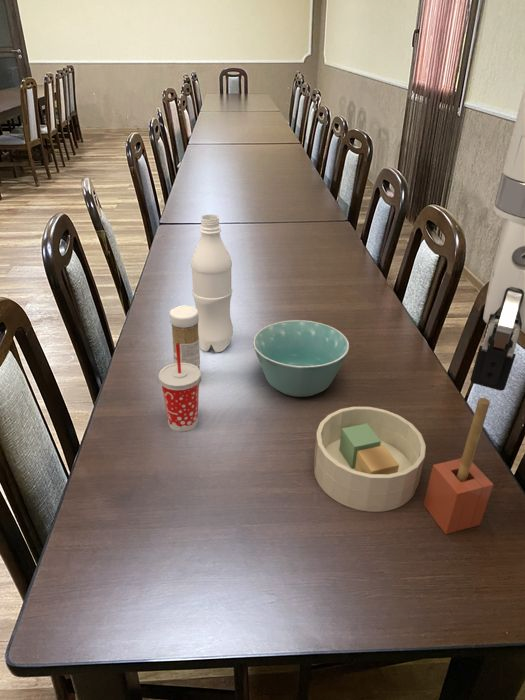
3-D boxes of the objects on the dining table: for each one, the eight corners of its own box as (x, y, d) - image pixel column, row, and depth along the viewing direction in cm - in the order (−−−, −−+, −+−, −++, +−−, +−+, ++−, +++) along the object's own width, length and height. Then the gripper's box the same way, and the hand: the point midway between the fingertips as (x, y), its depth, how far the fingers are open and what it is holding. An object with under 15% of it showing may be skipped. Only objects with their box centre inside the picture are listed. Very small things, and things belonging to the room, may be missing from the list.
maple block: (380, 467, 74) (384, 444, 72) (394, 487, 71) (399, 465, 69) (353, 472, 73) (357, 450, 71) (367, 494, 70) (371, 471, 68)
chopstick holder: (455, 496, 71) (467, 456, 67) (480, 525, 67) (493, 484, 63) (423, 504, 70) (433, 464, 66) (445, 534, 66) (457, 493, 62)
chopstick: (452, 510, 69) (485, 396, 60) (457, 517, 68) (492, 403, 59) (444, 512, 69) (476, 398, 59) (449, 519, 68) (483, 405, 58)
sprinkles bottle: (173, 374, 94) (168, 305, 87) (199, 371, 95) (196, 303, 88) (176, 389, 90) (171, 318, 83) (203, 385, 91) (200, 315, 84)
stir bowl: (385, 430, 82) (390, 399, 79) (438, 498, 71) (447, 464, 67) (298, 449, 78) (301, 416, 75) (340, 523, 67) (345, 488, 64)
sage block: (364, 444, 78) (367, 423, 76) (377, 463, 75) (381, 441, 73) (339, 450, 77) (341, 428, 75) (351, 468, 74) (354, 446, 72)
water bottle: (194, 337, 105) (186, 211, 92) (230, 335, 106) (228, 210, 93) (196, 357, 99) (189, 225, 86) (235, 354, 100) (234, 223, 87)
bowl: (235, 374, 95) (235, 333, 90) (306, 349, 102) (309, 311, 98) (287, 422, 83) (290, 378, 79) (363, 390, 91) (369, 349, 87)
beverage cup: (160, 413, 85) (152, 336, 77) (198, 406, 86) (194, 330, 79) (166, 438, 80) (159, 358, 72) (207, 430, 81) (203, 351, 74)
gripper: (591, 235, 39) (524, 418, 48) (588, 184, 53) (536, 335, 62) (484, 218, 42) (440, 394, 51) (507, 173, 55) (469, 319, 64)
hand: (493, 361), depth 56 cm, fingers open, 9 cm apart
